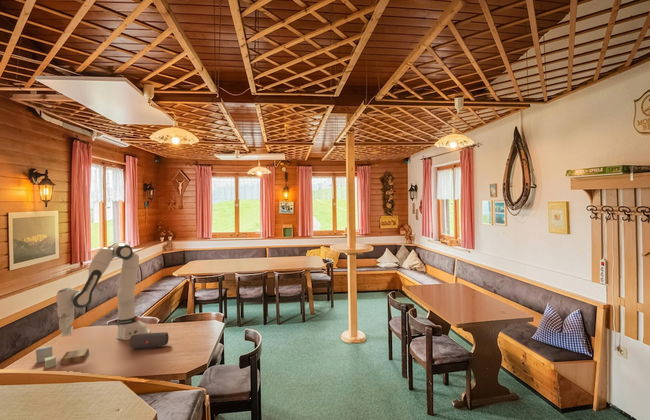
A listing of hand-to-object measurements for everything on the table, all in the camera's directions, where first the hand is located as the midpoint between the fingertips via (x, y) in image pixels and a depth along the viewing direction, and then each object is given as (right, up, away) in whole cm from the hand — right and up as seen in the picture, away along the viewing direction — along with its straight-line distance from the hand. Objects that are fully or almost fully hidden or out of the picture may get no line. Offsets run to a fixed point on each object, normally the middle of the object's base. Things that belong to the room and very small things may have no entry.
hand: (67, 332), depth 225 cm
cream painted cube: (0, -2, 0) cm, 2 cm away
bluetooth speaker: (+54, -13, +4) cm, 56 cm away
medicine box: (-6, -15, -12) cm, 19 cm away
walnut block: (+14, -14, -11) cm, 22 cm away
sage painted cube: (+4, -14, -19) cm, 24 cm away
